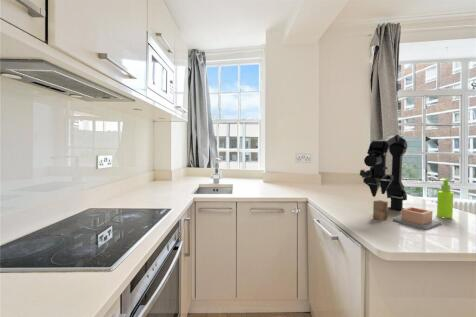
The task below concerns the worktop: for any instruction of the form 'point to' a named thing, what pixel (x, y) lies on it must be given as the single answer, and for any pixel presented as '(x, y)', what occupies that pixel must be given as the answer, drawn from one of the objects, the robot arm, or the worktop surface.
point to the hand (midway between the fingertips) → (378, 195)
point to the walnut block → (380, 210)
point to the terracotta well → (417, 218)
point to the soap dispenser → (445, 200)
